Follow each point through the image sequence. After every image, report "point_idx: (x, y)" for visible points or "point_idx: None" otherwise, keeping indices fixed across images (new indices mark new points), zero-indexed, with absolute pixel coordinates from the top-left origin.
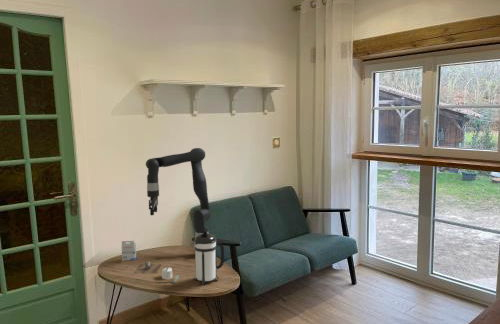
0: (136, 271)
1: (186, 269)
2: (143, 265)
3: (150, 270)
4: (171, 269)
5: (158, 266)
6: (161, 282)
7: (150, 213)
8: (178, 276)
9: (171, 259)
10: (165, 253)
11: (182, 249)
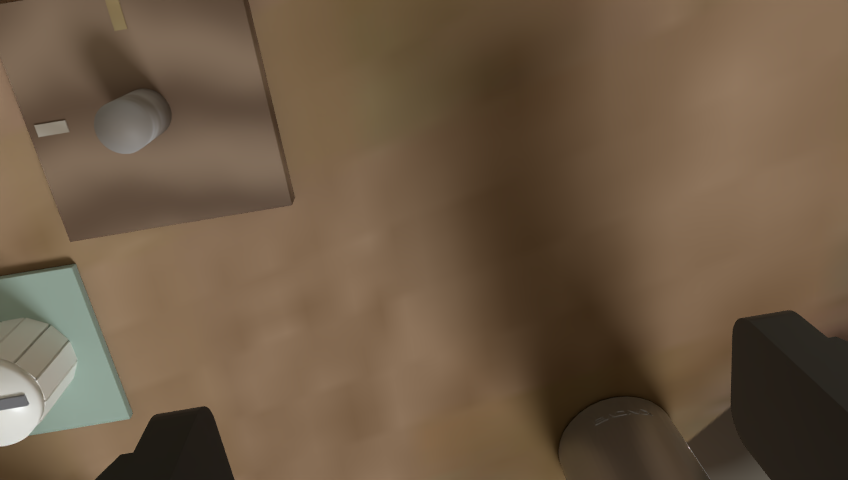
0: (36, 21)
1: (279, 423)
2: (216, 23)
3: (111, 160)
4: (4, 441)
5: (230, 197)
6: None
7: (133, 463)
8: (111, 419)
9: (492, 220)
10: (663, 92)
11: (782, 226)
